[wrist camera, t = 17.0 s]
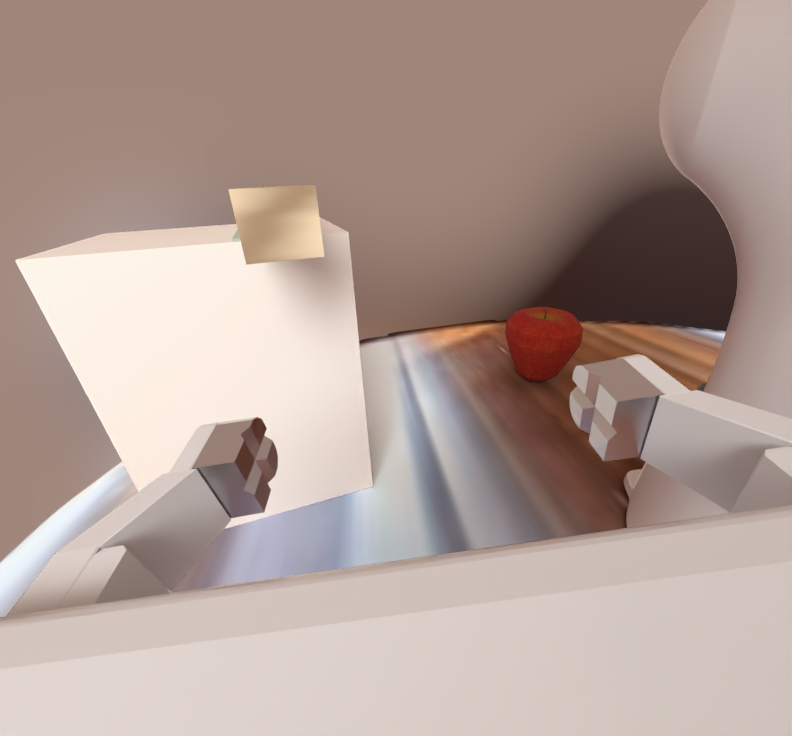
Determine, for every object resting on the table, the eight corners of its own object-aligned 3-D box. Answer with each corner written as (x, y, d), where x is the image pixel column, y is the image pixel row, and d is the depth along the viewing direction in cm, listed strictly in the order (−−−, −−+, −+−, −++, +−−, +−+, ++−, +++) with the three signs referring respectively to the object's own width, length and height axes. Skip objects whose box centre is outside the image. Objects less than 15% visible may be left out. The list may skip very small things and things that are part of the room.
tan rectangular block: (289, 218, 37) (284, 186, 35) (324, 256, 17) (315, 185, 15) (254, 220, 36) (247, 187, 35) (246, 264, 16) (228, 189, 14)
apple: (564, 403, 51) (581, 324, 45) (491, 384, 56) (498, 312, 50) (576, 370, 59) (592, 300, 53) (512, 357, 64) (520, 292, 58)
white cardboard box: (347, 415, 50) (321, 216, 38) (373, 486, 38) (347, 229, 26) (192, 450, 45) (103, 231, 32) (167, 545, 33) (13, 256, 21)
